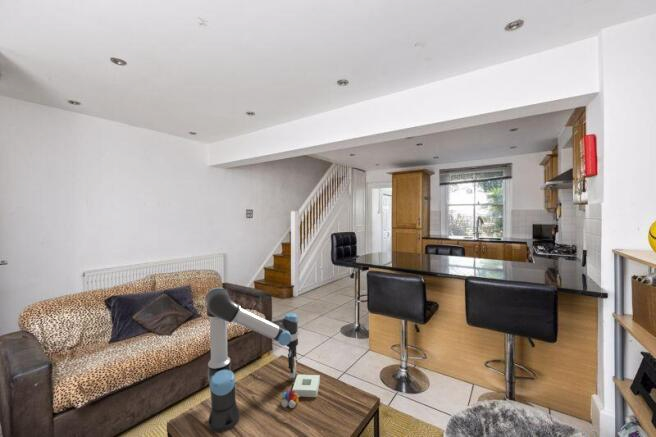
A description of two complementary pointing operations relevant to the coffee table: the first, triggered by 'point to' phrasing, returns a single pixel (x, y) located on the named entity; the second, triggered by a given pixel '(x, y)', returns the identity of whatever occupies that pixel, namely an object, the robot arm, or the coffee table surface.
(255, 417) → the coffee table surface
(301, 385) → the socket block
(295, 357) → the peg
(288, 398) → the rainbow wheeled toy
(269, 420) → the coffee table surface
